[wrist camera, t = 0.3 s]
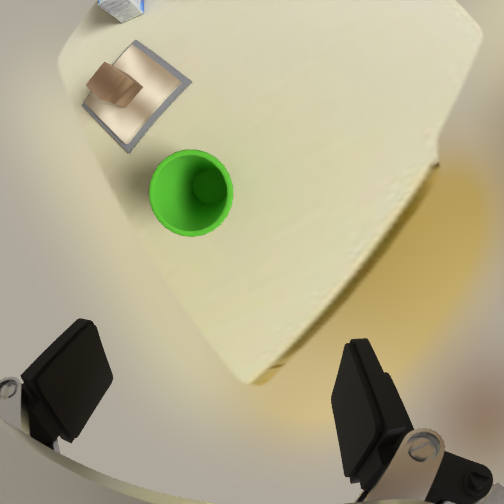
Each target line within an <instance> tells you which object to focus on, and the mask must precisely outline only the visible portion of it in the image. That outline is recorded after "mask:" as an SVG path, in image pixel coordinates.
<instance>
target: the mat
mask: <svg viewBox="0 0 504 504" xmlns="http://www.w3.org/2000/svg"><path fill="white" fill-rule="evenodd" d="M131 45H134V46H135V47H136V48H138V49H139V50H141V51H142V52H143V53H145V54H146V55H147V56H149V57H150V58H151V59H153V60H154V61H155V62H157V63H158V64H159V65H160V66H162V67H163V68H164V69H166V70H167V71H168V72H169V73H171V74H172V75H173V76H174V77H176V78H177V79H178V80H179V81H181V82H182V83H181V84H180V85H179V86H178V87H177V88H176V89H175V90H174V91H173V92H172V93H171V94H170V96H169V97H168V98H167V99H166V100H165V101H164V102H163V103H162V104H161V105H160V106H159V108H158V109H157V110H156V111H155V112H154V113H153V114H152V116H151V117H150V118H149V119H148V120H147V121H146V123H145V124H144V125H143V126H142V127H141V129H140V130H139V131H138V132H137V134H136V135H135V136H134V137H133V139H132V140H131V141H130V143H129V144H125V143H124V142H123V141H122V140H121V139H120V138H119V137H118V136H117V135H116V134H115V133H114V132H113V131H112V130H111V129H110V128H109V127H108V126H107V125H106V124H105V123H104V122H103V121H102V120H101V119H100V118H99V117H98V116H97V115H96V114H95V113H94V112H93V111H92V110H91V109H90V108H89V107H88V106H87V105H86V104H85V103H84V102H85V101H86V100H85V101H84V102H83V104H82V106H83V107H84V108H85V109H86V110H87V111H88V112H89V113H90V114H91V116H92V117H93V118H94V119H95V120H96V121H97V122H98V123H99V124H100V125H101V126H102V127H103V128H104V129H105V130H106V131H107V132H108V133H109V134H110V135H111V136H112V137H113V138H114V139H115V140H116V141H117V142H118V143H119V144H120V145H121V146H122V147H123V148H124V149H125V150H126V151H127V152H128V153H130V152H131V151H132V149H133V148H134V147H135V146H136V144H137V143H138V142H139V141H140V139H141V138H142V137H143V136H144V134H145V133H146V132H147V131H148V130H149V128H150V127H151V126H152V125H153V124H154V122H155V121H156V120H157V119H158V118H159V117H160V116H161V114H162V113H163V112H164V111H165V110H166V109H167V108H168V107H169V106H170V105H171V103H172V102H173V101H174V100H175V99H176V98H177V97H178V96H179V95H180V94H181V93H182V92H183V91H184V90H185V89H186V88H187V87H188V86H189V85H190V84H191V83H192V82H191V81H190V80H189V79H188V78H186V77H185V76H184V75H183V74H181V73H180V72H179V71H178V70H176V69H175V68H174V67H173V66H171V65H170V64H169V63H167V62H166V61H165V60H163V59H162V58H161V57H159V56H158V55H157V54H155V53H154V52H153V51H151V50H150V49H148V48H147V47H146V46H144V45H143V44H141V43H140V42H139V41H137V40H135V41H134V42H133V43H132V44H131ZM131 45H130V46H131ZM130 46H129V47H130ZM129 47H128V48H129ZM128 48H127V49H128ZM127 49H126V50H127ZM126 50H125V51H126ZM125 51H124V52H125ZM124 52H123V53H124ZM123 53H122V54H123ZM121 56H122V55H121ZM121 56H120V57H121ZM120 57H119V58H120ZM119 58H118V59H119ZM118 59H117V60H118ZM117 60H116V61H117ZM116 61H115V62H116ZM114 64H115V63H114ZM114 64H113V65H114ZM113 65H112V66H113ZM91 92H92V91H91ZM90 94H91V93H90ZM90 94H89V95H90ZM89 95H88V96H89ZM87 98H88V97H87ZM87 98H86V99H87Z"/></svg>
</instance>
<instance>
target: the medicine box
mask: <svg viewBox="0 0 504 504" xmlns="http://www.w3.org/2000/svg"><path fill="white" fill-rule="evenodd" d="M98 6H100V7H101V8H102V9H104V10H105V11H106V12H108V13H109V14H111V15H112V16H113V17H115V18H116V19H117V20H119V21H120V22H121V23H123V22H125V21H128V20H130V19H132V18H135V17H137V16H139V15H142V14H144V0H98Z"/></svg>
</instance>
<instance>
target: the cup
mask: <svg viewBox="0 0 504 504" xmlns="http://www.w3.org/2000/svg"><path fill="white" fill-rule="evenodd" d="M149 198H150V204H151V207H152V210H153V213H154V214H155V216H156V217H157V219H158V221H159V222H160V223H161V224H162V225H163V226H164V227H165V228H167V229H168V230H170V231H172V232H173V233H176V234H179V235H182V236H190V237H195V236H201V235H204V234H207V233H209V232H211V231H213V230H214V229H215V228H217V227H218V226H219V225H221V223H222V222H223V221H224V219H225V218H226V217H227V215H228V213H229V210H230V208H231V205H232V200H233V185H232V182H231V179H230V175H229V173H228V172H227V170H226V168H225V167H224V165H223V164H222V163H221V162H220V161H219V160H218V159H217V158H215V157H214V156H212V155H210V154H209V153H207V152H203V151H200V150H182V151H179V152H175V153H173V154H172V155H170V156H168V157H167V158H165V159H164V160H163V161H162V162H161V163H160V164H159V165H158V167H157V168H156V170H155V171H154V173H153V176H152V179H151V181H150V188H149Z"/></svg>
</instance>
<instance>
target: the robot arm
mask: <svg viewBox="0 0 504 504" xmlns="http://www.w3.org/2000/svg"><path fill="white" fill-rule="evenodd" d="M21 378H22V380H23V381H24V383H23V384H21V383H20V381H19V380H18V379H17V378H15V377H6V378H4V379H2V380H0V504H216V503H208V502H203V501H197V500H191V499H186V498H181V497H176V496H172V495H168V494H164V493H160V492H156V491H152V490H149V489H145V488H142V487H139V486H136V485H132V484H129V483H126V482H124V481H120V480H118V479H115V478H112V477H110V476H107V475H105V474H102V473H100V472H98V471H95V470H93V469H90V468H88V467H86V466H84V465H82V464H79V463H77V462H75V461H73V460H71V459H69V458H67V457H65V456H63V455H61V454H60V451H59V446H58V440H57V437H58V436H60V437H61V438H62V439H63V440H65V441H67V442H70V443H72V441H73V440H74V438H77V437H78V436H79V434H80V433H81V431H82V429H83V428H84V426H85V424H86V423H87V421H88V419H89V418H90V416H91V414H92V413H93V411H94V410H95V408H96V407H97V405H98V403H99V402H100V400H101V399H102V397H103V396H104V394H105V392H106V391H107V389H108V388H109V386H110V385H111V383H112V380H113V375H112V372H111V369H110V366H109V363H108V361H107V358H106V355H105V352H104V349H103V346H102V343H101V340H100V337H99V333H98V330H97V327H96V326H95V325H94V323H93V322H92V321H91V320H86V319H77V320H76V321H75V322H74V323H73V324H72V325H71V326H70V327H69V328H68V329H67V330H66V331H65V332H63V334H62V335H60V336H59V337H58V338H57V339H56V340H55V341H54V342H53V343H52V344H51V345H50V346H49V347H48V348H47V349H46V350H45V351H44V352H43V353H42V354H41V355H40V356H39V357H38V358H37V359H36V360H35V361H34V362H33V363H32V364H31V365H30V366H29V367H28V368H27V369H26V370H25V372H24V373H23V374H22V375H21ZM331 403H332V409H333V414H334V419H335V425H336V430H337V435H338V441H339V446H340V452H341V458H342V464H343V469H344V475H345V477H350V482H351V484H352V483H358V482H360V485H361V489H363V491H362V493H361V494H360V495H359V497H358V498H357V499H356V501H355V502H354V503H346V504H504V487H503V486H502V485H500V484H499V483H497V484H495V485H494V484H493V476H492V473H491V471H490V470H489V469H488V468H487V467H486V466H484V465H482V464H479V463H476V462H473V461H470V460H467V459H465V458H462V457H459V456H456V455H454V454H451V453H449V452H446V451H445V444H444V440H443V439H442V437H441V436H440V435H439V434H438V433H437V432H436V431H433V430H431V429H427V428H418V429H415V430H414V428H413V426H412V423H411V421H410V418H409V416H408V414H407V411H406V409H405V407H404V405H403V402H402V400H401V398H400V396H399V394H398V391H397V389H396V387H395V385H394V383H393V380H392V379H391V377H390V375H389V374H388V373H386V372H385V373H384V372H383V370H382V367H381V365H380V363H379V361H378V359H377V357H376V355H375V352H374V350H373V348H372V346H371V344H370V342H369V341H368V339H367V338H364V339H351V341H350V343H347V344H345V346H344V350H343V355H342V359H341V363H340V367H339V371H338V375H337V378H336V382H335V385H334V389H333V392H332V396H331Z"/></svg>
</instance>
